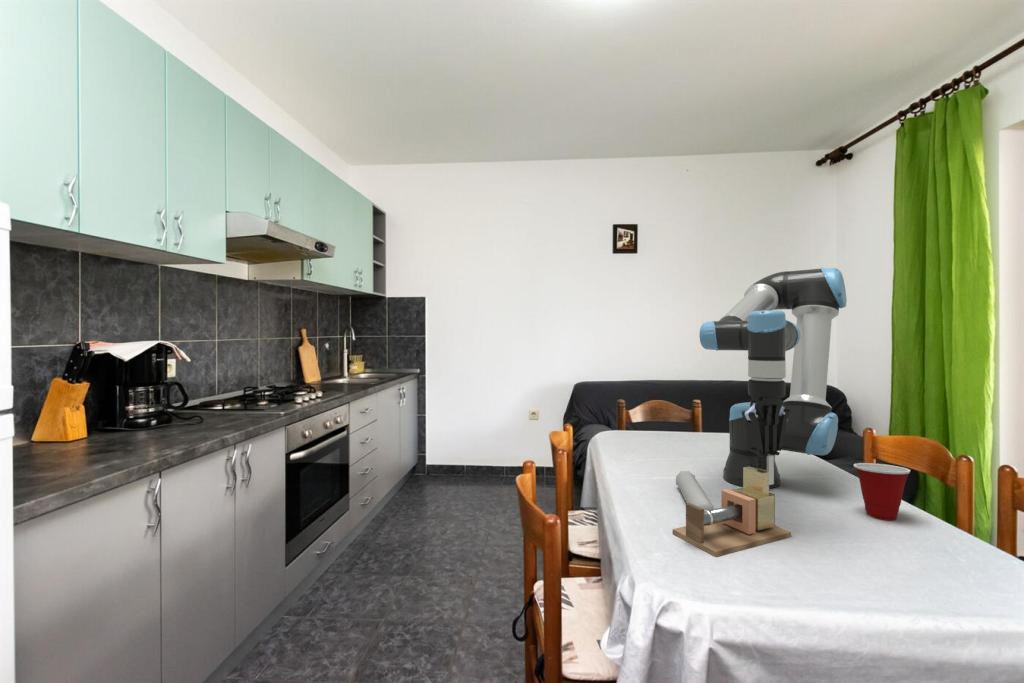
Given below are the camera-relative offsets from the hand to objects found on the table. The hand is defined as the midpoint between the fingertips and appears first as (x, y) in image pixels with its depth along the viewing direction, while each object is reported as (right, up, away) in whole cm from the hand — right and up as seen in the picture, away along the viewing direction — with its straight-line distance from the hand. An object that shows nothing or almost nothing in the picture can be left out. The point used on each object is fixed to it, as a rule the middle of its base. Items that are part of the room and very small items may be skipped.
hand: (766, 482), depth 109 cm
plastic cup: (+31, -10, +6) cm, 33 cm away
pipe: (-10, -7, -4) cm, 12 cm away
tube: (-10, -10, +15) cm, 21 cm away
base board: (-10, -10, -4) cm, 15 cm away
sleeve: (-4, -9, -1) cm, 9 cm away
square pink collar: (-8, -9, -3) cm, 12 cm away
